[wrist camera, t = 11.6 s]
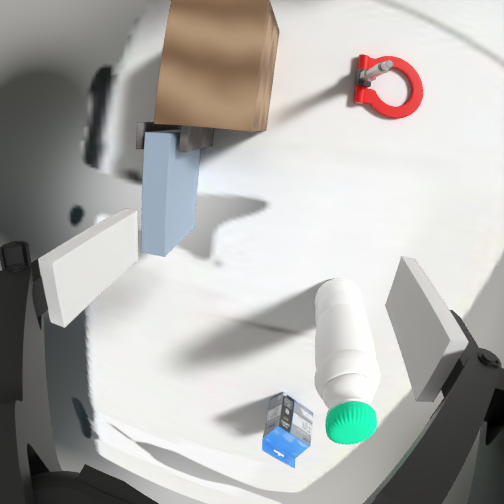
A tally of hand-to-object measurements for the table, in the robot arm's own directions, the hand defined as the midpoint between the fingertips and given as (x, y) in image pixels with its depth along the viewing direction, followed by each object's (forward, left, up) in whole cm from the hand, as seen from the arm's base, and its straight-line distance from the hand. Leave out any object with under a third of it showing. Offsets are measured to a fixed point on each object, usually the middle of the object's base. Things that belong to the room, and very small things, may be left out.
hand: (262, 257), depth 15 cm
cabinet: (-11, -11, -29) cm, 32 cm away
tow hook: (-14, +11, -29) cm, 34 cm away
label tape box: (+43, +8, -29) cm, 52 cm away
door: (+3, -14, -29) cm, 32 cm away
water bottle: (+17, +10, -29) cm, 35 cm away
